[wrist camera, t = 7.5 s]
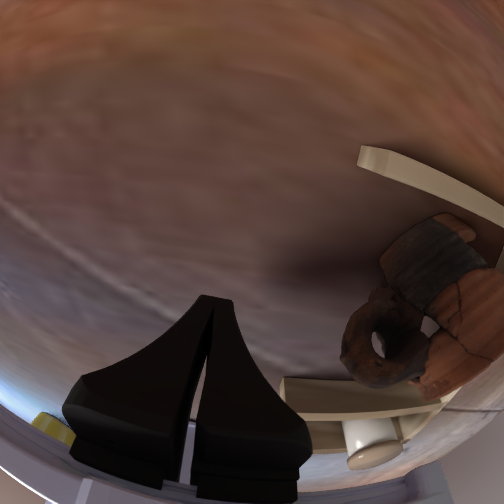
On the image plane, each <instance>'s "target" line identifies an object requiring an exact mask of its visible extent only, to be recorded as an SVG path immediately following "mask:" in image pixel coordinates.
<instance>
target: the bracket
mask: <svg viewBox="0 0 504 504" xmlns="http://www.w3.org/2000/svg"><path fill="white" fill-rule="evenodd" d="M357 166H360V167H362V168H365V169H368V170H370V171H373V172H375V173H378V174H380V175H383V176H386V177H389V178H391V179H394V180H397V181H400V182H403V183H405V184H408V185H411V186H413V187H416V188H418V189H421V190H423V191H426V192H428V193H431V194H433V195H436V196H438V197H440V198H443V199H445V200H447V201H450V202H452V203H454V204H456V205H459V206H461V207H463V208H465V209H467V210H469V211H471V212H474V213H476V214H478V215H480V216H482V217H484V218H486V219H488V220H490V221H491V222H493V223H495V224H497V225H499V226H501V227H503V228H504V207H503V206H502V205H500V204H498V203H497V202H495V201H494V200H492V199H490V198H489V197H487V196H485V195H483V194H482V193H480V192H478V191H476V190H475V189H473V188H471V187H469V186H467V185H465V184H464V183H462V182H460V181H458V180H456V179H454V178H452V177H450V176H448V175H446V174H444V173H442V172H440V171H438V170H435V169H433V168H431V167H429V166H427V165H425V164H422V163H420V162H418V161H415V160H413V159H411V158H408V157H406V156H403V155H401V154H399V153H396V152H393V151H391V150H386V149H381V148H375V147H370V146H363V145H361V149H360V153H359V158H358V162H357ZM495 269H498V270H499V271H500V272H501V273H502V275H503V276H504V247H503V249H502V252H501V254H500V257H499V259H498V262H497V264H496V267H495ZM407 381H408V380H402V381H400V382H398V383H395V384H394V385H392V386H389V387H386V388H382V389H373V388H369V387H366V386H364V385H362V384H360V383H358V382H357V381H336V380H315V379H300V378H288V377H283V379H282V381H281V384H280V397H281V398H282V400H283V401H284V402H285V403H286V404H287V405H288V406H289V407H290V408H291V409H292V410H294V411H295V412H296V413H297V414H298V415H299V416H300V417H302V418H303V419H304V420H305V421H306V424H307V427H308V430H309V433H310V436H311V440H312V447H313V454H329V453H343V452H348V451H347V446H346V441H345V436H344V431H343V427H342V422H341V421H346V420H364V419H377V418H387V417H391V420H392V423H393V426H394V429H395V432H396V435H397V438H398V440H400V441H401V442H402V444H405V443H407V442H408V441H409V440H410V439H411V438H412V437H414V436H415V435H416V434H417V433H418V432H419V431H420V430H421V429H422V428H423V427H424V426H425V425H426V424H428V423H429V422H430V421H431V420H432V419H433V418H434V417H435V416H436V415H437V414H438V413H439V411H440V410H441V409H442V408H443V407H444V406H445V405H446V404H447V403H448V402H449V401H450V400H451V399H452V397H453V396H454V395H455V394H456V393H457V392H458V391H459V389H460V388H461V387H462V386H461V387H460V388H458V389H457V390H455V391H453V392H451V393H450V394H448V395H446V396H444V397H441V398H438V399H436V400H434V401H430V402H423V401H422V399H421V394H420V391H419V389H418V388H417V387H416V386H413V385H410V384H408V382H407ZM395 416H396V417H395ZM318 421H323V422H318Z"/></svg>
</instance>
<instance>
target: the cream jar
mask: <svg viewBox="0 0 504 504" xmlns="http://www.w3.org/2000/svg"><path fill="white" fill-rule="evenodd" d="M341 422H342V427H343V431H344V436H345V441H346V446H347V451H348V456H349V458H348V459H347V464H348V469H350V470H364V469H369V468H373V467H376V466H379V465H381V464H384V463H386V462H388V461H390V460H392V459H394V458H395V457H397V456H398V455H399V454H400V453H401V452H402V451H403V449H404V448H403V445H402V442H401V441H400V440H398V438H397V435H396V432H395V429H394V426H393V423H392V420H391V417H387V418H377V419H364V420H346V421H341Z"/></svg>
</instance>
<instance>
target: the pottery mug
mask: <svg viewBox="0 0 504 504" xmlns="http://www.w3.org/2000/svg"><path fill="white" fill-rule="evenodd" d="M475 237H476V233H475V232H474V231H473V229H471V228H470V227H469V226H468V225H466V224H465V223H463V222H462V221H460V220H458V219H457V218H456V217H455V216H453V215H452V214H449V213H443V214H438V215H436V216H433V217H432V218H428V219H426V220H425V221H423V222H421V223H419V224H416V225H414V226H413V227H412V228H411V229H410V230H408V231H407V232H405V233H403V234H402V235H401V236H400V237H399V238H398V239H396V240H395V241H394V242H393V244H392V245H391V246H390V247H389V248H388V249H387V250H386V251H385V253H384V254H383V255H382V256H381V258H380V259H379V264H380V266H381V267H382V269H383V271H384V273H385V278H386V280H387V283H388V288H376V289H375V290H373V291H372V292H371V294H370V296H369V301H368V302H366V303H365V304H364V305H362V306H361V307H360V308H359V309H358V310H357V311H356V312H354V313H353V315H352V316H351V317H350V319H349V321H348V323H347V326H346V329H345V332H344V334H343V338H342V346H341V355H340V360H341V362H342V363H343V364H344V365H345V366H346V368H347V370H348V371H349V373H350V374H351V375H352V377H353V379H354V380H356V381H357V382H358V383H360V384H362V385H364V386H366V387H369V388H373V389H382V388H386V387H389V386H392V385H394V384H395V383H398V382H400V381H402V380H404V379H406V380H408V381H407V382H408V384H410V385H413V386H416V387H417V388H418V389H419V391H420V394H421V399H422V401H423V402H430V401H434V400H436V399H438V398H441V397H444V396H446V395H448V394H450V393H451V392H453V391H455V390H457V389H458V388H460V387H461V386H463V385H465V384H466V383H467V382H469V381H470V380H472V379H473V378H475V377H476V376H477V375H479V374H480V373H481V372H483V371H484V370H485V369H486V368H488V367H489V366H490V364H491V363H492V362H494V361H495V360H496V359H498V358H499V357H500V356H501V355H502V354H503V353H504V276H503V275H502V273H501V272H500V271H499V270H498V269H495V268H488V263H487V262H486V261H485V260H484V259H483V257H482V256H481V255H480V254H478V253H476V252H475V250H474V249H473V248H472V247H471V246H469V245H467V244H466V243H468V242H470V241H474V240H475ZM425 315H427V316H428V317H430V318H432V319H433V320H434V321H435V322H436V323H437V324H438V325H439V326H440V328H439V330H437V331H436V332H435V333H433V335H432V336H431V337H430V338H429V339H428V338H427V336H426V335H425V334H424V333H423V332H421V331H420V329H421V325H422V321H423V317H424V316H425ZM373 332H375V333H376V335H377V338H378V340H379V341H380V342H381V344H382V351H383V353H384V356H385V358H382V357H381V356H379V355H378V354H377V353H376V352H375V350H374V348H373V346H372V342H371V338H372V333H373Z"/></svg>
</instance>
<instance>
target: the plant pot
mask: <svg viewBox="0 0 504 504" xmlns="http://www.w3.org/2000/svg"><path fill="white" fill-rule="evenodd" d="M31 425H32V426H34V427H36V428H37V429H39V430H41V431H42V432H44V433H46V434H48V435H50V436H51V437H53V438H55V439H57V440H59V441H61V442H63V443H65V444H67V445H69V446H72V444H73V441H74V439H75V437H76V434H75V433H74V432H73V431H72V430H71V429H70V428H69V427H68V426H66V425H65V424H63V423H62V422H61V421H59V420H58V419H56V418H54V417H53V416H51V415H49V414H47V413H43V412H41V413H40V414H39V415H38V416H37V417H36V418H35V419H34V420H33V421H32V422H31Z"/></svg>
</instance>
